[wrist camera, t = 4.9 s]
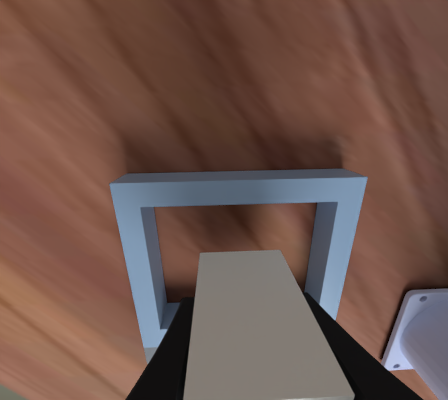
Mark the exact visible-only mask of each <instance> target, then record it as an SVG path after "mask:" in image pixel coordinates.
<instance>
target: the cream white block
mask: <svg viewBox="0 0 448 400" xmlns="http://www.w3.org/2000/svg"><path fill="white" fill-rule="evenodd" d="M354 396H355V395H354V393H353V391H352V389H351V387H350V385H349V383H348V381H347V379H346V377H345V375H344V373H343V371H342V369H341V367H340V366H339V364H338V362H337V360H336V358H335V356H334V354H333V352H332V350H331V348H330V346H329V344H328V342H327V340H326V338H325V336H324V334H323V332H322V331H321V329H320V327H319V325H318V323H317V321H316V319H315V317H314V315H313V313H312V311H311V309H310V307H309V305H308V303H307V301H306V299H305V297H304V295H303V294H302V292H301V290H300V288H299V286H298V284H297V282H296V280H295V278H294V276H293V274H292V272H291V270H290V268H289V266H288V264H287V262H286V260H285V259H284V257H283V255H282V253H281V251H280V250H263V251H236V252H208V253H200V258H199V266H198V275H197V284H196V293H195V301H194V310H193V319H192V328H191V337H190V345H189V354H188V363H187V372H186V380H185V389H184V398H183V400H354Z"/></svg>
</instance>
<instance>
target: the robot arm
mask: <svg viewBox="0 0 448 400" xmlns="http://www.w3.org/2000/svg"><path fill="white" fill-rule="evenodd" d="M302 294H303V295H304V297H305V299H306V301H307V303H308V305H309V307H310V309H311V311H312V313H313V315H314V317H315V319H316V321H317V323H318V325H319V327H320V329H321V331H322V332H323V334H324V336H325V338H326V340H327V342H328V344H329V346H330V348H331V350H332V352H333V354H334V356H335V358H336V360H337V362H338V364H339V366H340V367H341V369H342V371H343V373H344V375H345V377H346V379H347V381H348V383H349V385H350V387H351V389H352V391H353V393H354V395H355V396H354V400H423V399H422V398H421V397H420V396H418V395H417V394H416V393H415V392H413V391H412V390H411V389H410V388H409V387H407V386H406V385H405V384H404V383H402V382H401V381H400V380H399V379H398V378H396V377H395V376H394V375H393V374H392V373H391V372H389V371H388V370H403V369H415V371H416V372H417V373H418V374H419V375H420V377H421V378H422V379H423V380H424V382H425V383H426V384H427V385H428V387H429V388H430V389H431V390H432V392H433V393H434V394H435V395H436V396H437V398H438V399H439V400H448V288H447V289H424V290H411V291H409V292H407V293H406V295H405V297H404V300H403V303H402V306H401V309H400V311H399V314H398V317H397V320H396V322H395V325H394V328H393V331H392V334H391V336H390V339H389V342H388V345H387V348H386V350H385V353H384V356H383V359H382V362H381V364H382V365H381V364H380V363H379V362H378V361H377V360H376V359H375V358H374V357H373V356H371V355H370V354H369V353H368V352H367V351H366V350H365V349H364V348H363V347H362V346H361V345H360V344H359V343H357V342H356V341H355V340H354V339H353V338H352V337H351V336H350V335H349V334H348V333H347V332H346V331H345V330H344V329H343V328H342V327H341V326H340V325H339V324H338V323H337V322H336V321H335V320H334V319H333V318H332V317H331V316H330V315H329V314H328V313H327V312H326V311H325V310H324V309H323V308H322V307H321V306H320V305H319V304H318V303H317V302H316V301H315V300H314V299H313V297H312V296H311V295H310V294H309V293H308V292H302ZM194 301H195V297H185V298H183V299H182V300H181V302H180V304H179V307H178V309H177V311H176V313H175V316H174V318H173V320H172V322H171V324H170V326H169V328H168V330H167V332H166V333H165V335H164V337H163V339H162V341H161V343H160V344H159V346H158V348H157V350H156V352H155V353H154V355H153V357H152V358H151V360H150V362H149V363H148V365H147V367H146V368H145V370H144V372H143V373H142V375H141V376H140V378H139V380H138V381H137V383H136V384H135V386H134V387H133V389H132V390H131V392H130V393H129V395H128V396H127V398H126V399H125V400H183V398H184V389H185V380H186V372H187V363H188V354H189V345H190V337H191V328H192V319H193V310H194Z"/></svg>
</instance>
